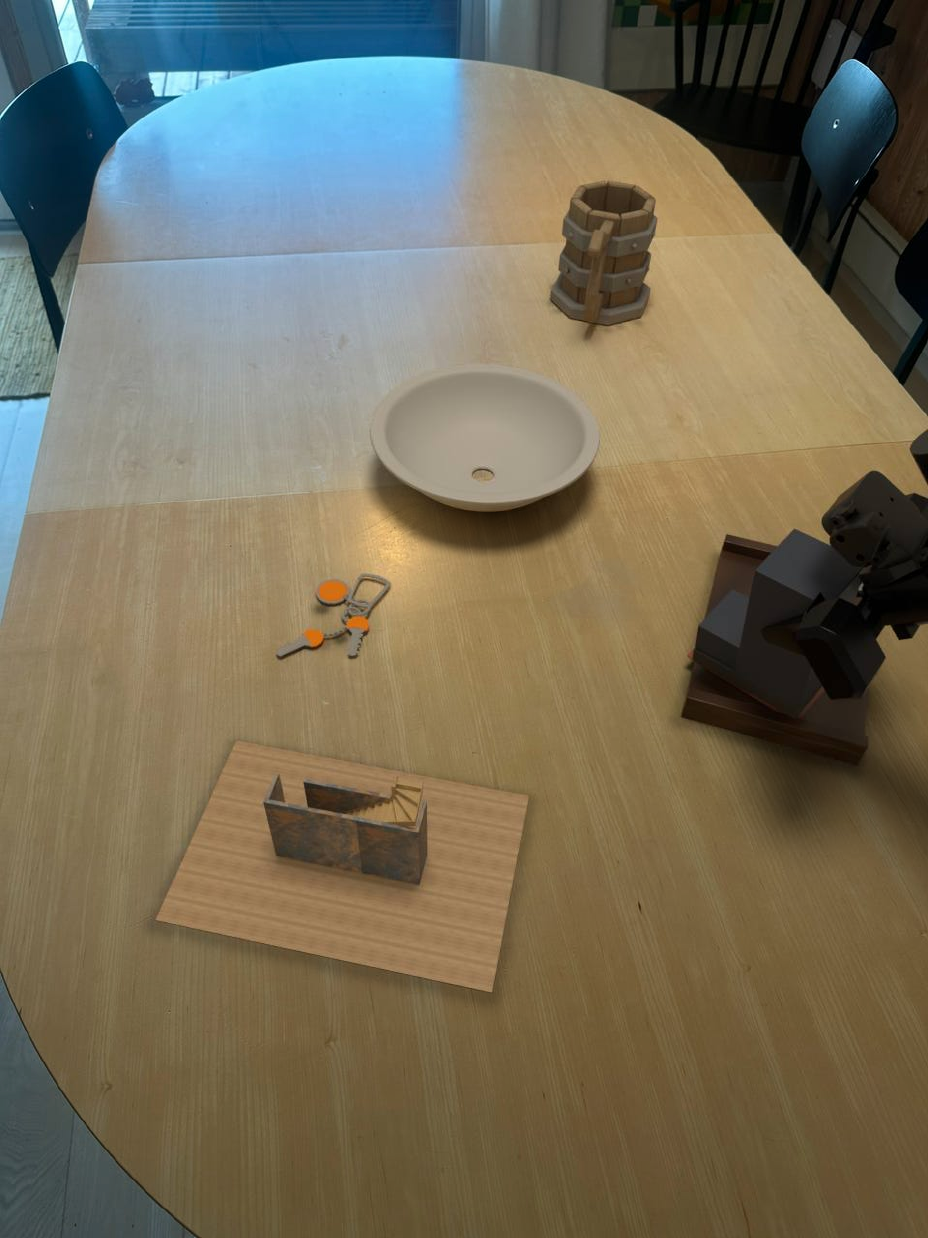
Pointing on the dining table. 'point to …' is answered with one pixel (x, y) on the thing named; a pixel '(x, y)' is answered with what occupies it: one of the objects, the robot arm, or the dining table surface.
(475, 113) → the dining table surface
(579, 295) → the tankard
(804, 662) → the charcoal gray box
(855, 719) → the brown serving tray
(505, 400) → the white vessel sink
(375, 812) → the architectural model on board
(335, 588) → the key chain
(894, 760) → the dining table surface
